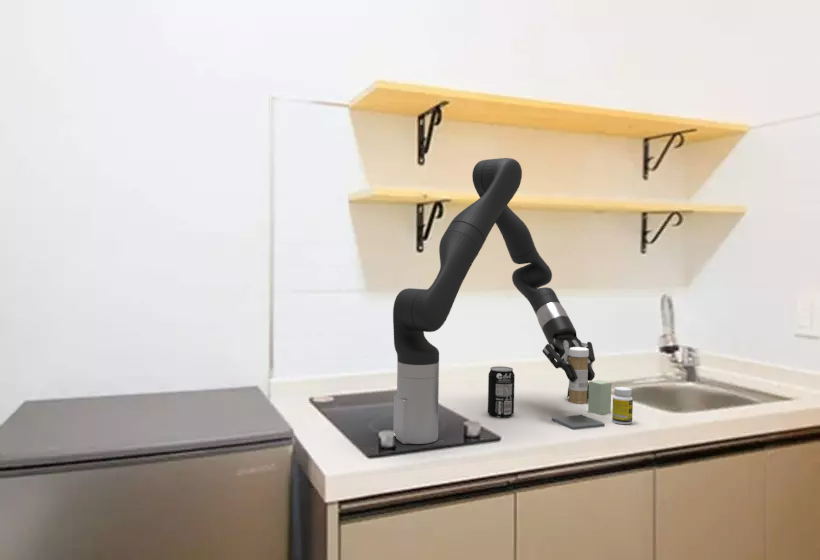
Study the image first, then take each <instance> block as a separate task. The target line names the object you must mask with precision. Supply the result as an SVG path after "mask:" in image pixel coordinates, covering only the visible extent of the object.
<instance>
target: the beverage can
mask: <svg viewBox="0 0 820 560" xmlns="http://www.w3.org/2000/svg"><path fill="white" fill-rule="evenodd" d="M487 377H488V379H487V380H488V381H487V382H488V385H487V386H488V390H487V391H488V392H487V413H488V414H489V415H490V416H491V417H494V418H501V419H502V418H503V419H504V418H505V419H507V418H510V417H512V416H513V414H514V413H515V378H516V377H515V373H514V368H512V367H511V366H501V365H498V366H491V367H490V370H489V372H488V376H487Z"/></svg>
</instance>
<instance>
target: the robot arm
mask: <svg viewBox="0 0 820 560" xmlns="http://www.w3.org/2000/svg"><path fill="white" fill-rule="evenodd" d="M522 177H523V168H522V166H521V164H520V163H519V162H518V160H517V159H514V158H509V157H501V158H490V159H489V158H488V159H482V160H479V161H478V162H477V163H476V164H475V165H474V167H473V169H472V183H473V186H474V189H475V191H476V193H477V196H478V197H479V198H478V199H477V200H476V201H474V202H472V203H471V204H469V206H466V207H465V208H464V209H463V210H462V211H460V212H458V214H457V215H456V216H455V217H454V218H452V220H451V222H450V223H449V225H448V226H447V228H446V230H445V232H444V233H443V235H442V236H441V239H440V241H439V249H438V254H439V262H440V268H439V271H438V274H437V275H436V278H435V279H434V280H433V283H432V284H431V285H430V286H429V288H427V289H426V288H410V287H409V288H404V289H403V290H401V291H399V292H398V294H397V296H395V297H396V298H395V300H394V301H393V302H394V303H393V309H392V325H393V344H394V350H395V353H396V356H397V357H396V359H397V364H396V365H397V367H396V368H397V369H396V373H397V374H396V375H397V376H396V390H397V391H396V393H395V394H393V427H392V428H393V432H394V433H395V434H396V438H395V439H396V440H398V441H399V442H400V443H401V444H405V445H406V444H413V445H424V444H432V443H434V442H436V441H438V439H439V395H440V394H439V390H440V389H439V386H440V385H439V383H440V381H439V380H440V378H439V377H440V351H439V349H438V347H436V346H434V345H433V344H432V343H430V341H429V340H428V339H427V338H426V336H425V333H433V332H437V331H438V330H439V329H441V327H442V326H443V325H444V324H445V322H446V321H447V318H448V317H449V315H450V312H451V310H452V308H453V305H454V303H455V301H456V298H457V295H458V293H459V291H460V289H461V287H462V284H463V282H464V281H465V278H466V277H467V274H468V272H469V270H470V269H471V267H472V265H473V263H474V261H475V260H476V258H477V257H478V256H479V254H480V251H481V249H482V248H483V246H484V244H485V242H486V241H487V238H488V236H489V234H490V232H491V231H492V229H493V227H494V226H495V225H496V227H497V228H498V230H499V231H500V234H501V236H502V238H503V241H504V243H505V246H506V249H507V251H508V254H509V256H510V259H511V261H512V262H513V263H514V264H516V265H523V266H521V267H519V268H516V269H515V270H514V271H513V272H512V276H511V280H512V284H513V285H514V287H515V288H516V289H517V291H518V292H519V293H521V295H523V296H524V297H525V299H526V300H527V301H528V302H529V304H530V305H531V308H532V309H533V312H534V313H535V315H536V318H537V322H538V324H539V326H540V328H541V331H542V333H543V334H544V338H545V339H546V342H547V343H546V345H544V348H543V349H542V350H541V351H542V353H543V355H545V357H546V359H548V360H549V362H550V363H551V365H552V366H553V367H554V368H555V369H559V368H560V369H562V370H563V371H564V373H565V375H566V378H567V379H568V381H569V380H570V381H571V382H575V381H576V380H577V378H578V377H577V375H576V373H575V371H574V369H573V366H572V365H570V355H569V349H570V348H571V347H583V348H588V349H589V356H588V382H589V381H594V378H595V376H596V373H595V371H594V369H593V366H592V367H591V364H592V365H593V364H594V362H595V361H596V357H595V352H594V346H593V342H591V341H587V343H585V342H582V341H581V339H579V338H578V337H577V331H576V329H575V326H574V324H573V322H572V320H571V319H570V317H569V315H568V313H567V311H566V310H565V308H564V307H563V305H562V304H561V302H560V300H559V298H558V295H557V293H556V292H555V291H554V290H553V289H552V288H551V287H548V286H547V287H545V286H546V285H548V284H549V283H551V281H552V279H553V273H552V270H551V268H550V266H549V265H548V264H547V263H546V262H545V260H544V259H543V258H542V256H541V255H540V253H539V252H538V250H537V248H536V245H535V242H534V240H533V237H532V234H531V232H530V230H529V228H528V226H527V225H526V223H525V222H524V221H523V220H522V219H521V218H520V216H518V215H517V214H516V213H515V212H514V211H513V210H512V209H511V208H510V206H508V205H509V203H510V202H511V200H512V199H513V198H514V196H515V195H516V193H517V192H518V190H519V188H520V185H521V183H522ZM525 264H526V265H525ZM543 286H544V287H543ZM424 332H425V333H424Z"/></svg>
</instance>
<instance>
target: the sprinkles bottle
mask: <svg viewBox="0 0 820 560" xmlns="http://www.w3.org/2000/svg"><path fill="white" fill-rule="evenodd" d="M569 355H570V365H572V366H573V369H574V371H575V373H576V375H577V377H578V378H577V380H576V381H575V382H571V381H570V380H569V379H568V387H569V396H568V402H569V403H570V404H573V405H574V404H575V405H585V404H588V399H587V387H588V383H589V381H588V356H589V349H588V348H583V347H571V348H570V349H569Z"/></svg>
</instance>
